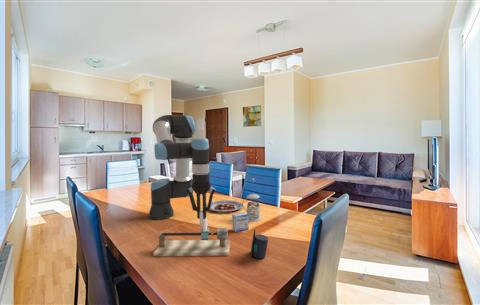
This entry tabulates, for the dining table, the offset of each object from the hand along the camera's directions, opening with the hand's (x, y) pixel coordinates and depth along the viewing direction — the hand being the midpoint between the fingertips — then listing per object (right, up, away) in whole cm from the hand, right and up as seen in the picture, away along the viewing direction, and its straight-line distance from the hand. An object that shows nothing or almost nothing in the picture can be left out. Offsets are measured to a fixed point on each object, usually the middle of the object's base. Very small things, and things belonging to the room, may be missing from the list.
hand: (202, 225), depth 107 cm
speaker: (+25, -11, -5) cm, 28 cm away
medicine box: (+17, -9, +23) cm, 30 cm away
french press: (+24, -8, +40) cm, 47 cm away
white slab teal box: (+1, -6, 0) cm, 6 cm away
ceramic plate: (+6, -7, +62) cm, 62 cm away
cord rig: (-4, -11, +1) cm, 12 cm away
